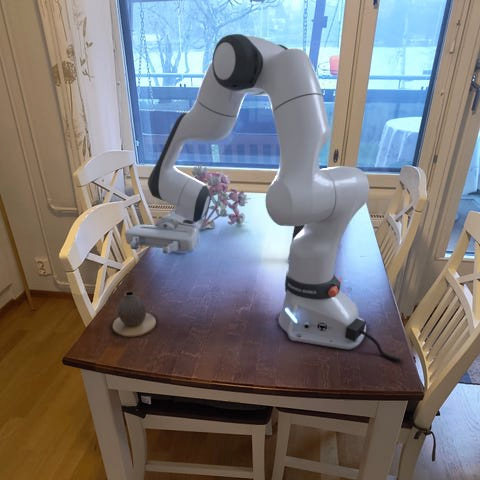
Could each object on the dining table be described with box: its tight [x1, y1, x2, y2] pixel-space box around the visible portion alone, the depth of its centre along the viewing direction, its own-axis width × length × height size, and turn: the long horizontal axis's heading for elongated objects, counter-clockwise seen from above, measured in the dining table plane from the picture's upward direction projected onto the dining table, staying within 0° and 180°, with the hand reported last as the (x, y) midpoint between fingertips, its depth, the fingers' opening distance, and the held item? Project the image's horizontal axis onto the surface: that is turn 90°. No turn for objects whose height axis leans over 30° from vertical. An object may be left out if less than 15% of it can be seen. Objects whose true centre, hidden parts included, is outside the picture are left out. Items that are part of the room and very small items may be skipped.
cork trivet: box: [112, 312, 157, 338], centre depth 111 cm, size 11×11×1 cm
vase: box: [117, 290, 147, 327], centre depth 108 cm, size 7×7×9 cm
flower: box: [191, 163, 252, 232], centre depth 164 cm, size 20×22×25 cm
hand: (148, 248), depth 111 cm, fingers open, 8 cm apart
